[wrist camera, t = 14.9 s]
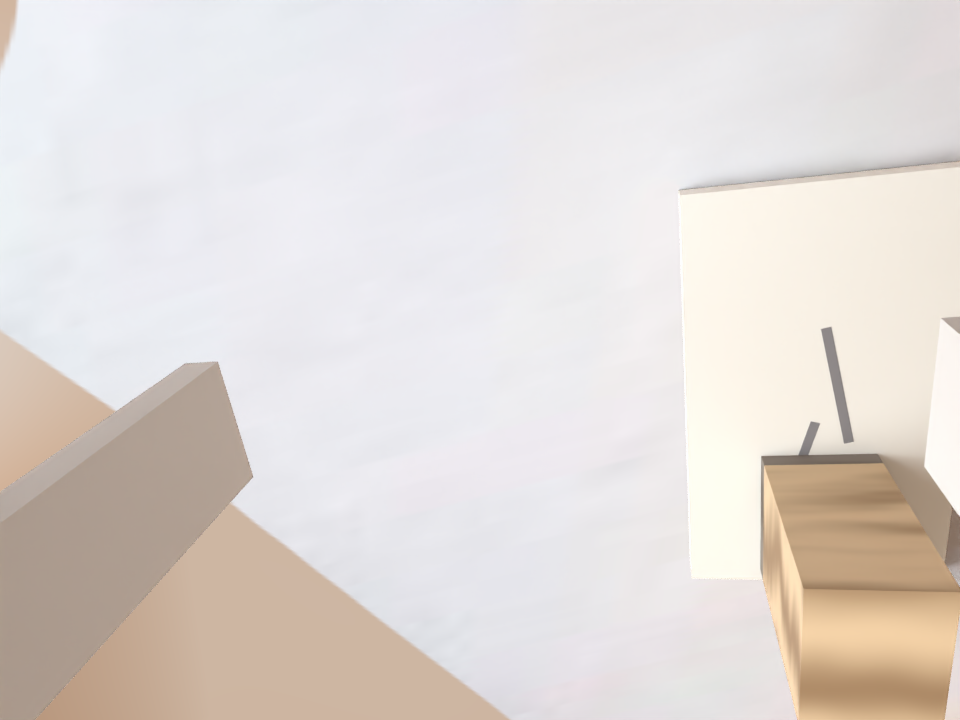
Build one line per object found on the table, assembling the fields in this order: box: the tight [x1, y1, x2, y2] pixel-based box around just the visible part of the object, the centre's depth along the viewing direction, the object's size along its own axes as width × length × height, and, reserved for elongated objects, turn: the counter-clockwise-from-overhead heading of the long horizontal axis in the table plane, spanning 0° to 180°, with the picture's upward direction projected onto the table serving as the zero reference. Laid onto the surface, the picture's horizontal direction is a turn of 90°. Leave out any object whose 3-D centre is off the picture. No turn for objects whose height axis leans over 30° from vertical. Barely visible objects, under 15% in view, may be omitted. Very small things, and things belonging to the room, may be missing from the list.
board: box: [678, 161, 960, 580], centre depth 38 cm, size 24×14×2 cm, turn 8°
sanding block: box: [760, 454, 960, 720], centre depth 36 cm, size 8×6×11 cm
